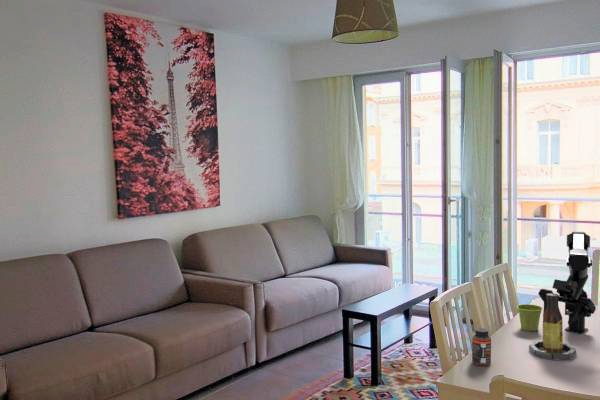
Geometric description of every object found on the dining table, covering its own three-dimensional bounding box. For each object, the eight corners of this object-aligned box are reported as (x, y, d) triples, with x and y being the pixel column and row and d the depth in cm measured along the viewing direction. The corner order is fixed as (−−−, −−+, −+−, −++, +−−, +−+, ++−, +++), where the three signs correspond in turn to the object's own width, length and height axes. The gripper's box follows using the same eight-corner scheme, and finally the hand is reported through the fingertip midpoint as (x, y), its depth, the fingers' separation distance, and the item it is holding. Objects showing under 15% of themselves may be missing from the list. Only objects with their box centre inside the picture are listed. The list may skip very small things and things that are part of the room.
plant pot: (512, 329, 226) (512, 307, 225) (522, 323, 233) (523, 302, 232) (536, 334, 220) (536, 312, 219) (546, 328, 226) (546, 306, 226)
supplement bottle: (488, 367, 188) (488, 333, 187) (469, 364, 191) (470, 330, 190) (492, 361, 193) (493, 328, 192) (474, 358, 196) (475, 326, 195)
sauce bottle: (564, 354, 197) (565, 297, 195) (544, 354, 198) (545, 296, 196) (559, 348, 203) (560, 292, 201) (540, 347, 204) (541, 292, 203)
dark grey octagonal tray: (540, 343, 210) (540, 337, 210) (581, 352, 200) (581, 346, 200) (523, 353, 200) (523, 347, 200) (565, 363, 190) (565, 356, 190)
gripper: (541, 266, 210) (522, 301, 205) (592, 275, 194) (572, 313, 189) (553, 284, 215) (535, 319, 210) (604, 294, 199) (585, 332, 194)
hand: (556, 320), depth 201 cm, fingers open, 9 cm apart
